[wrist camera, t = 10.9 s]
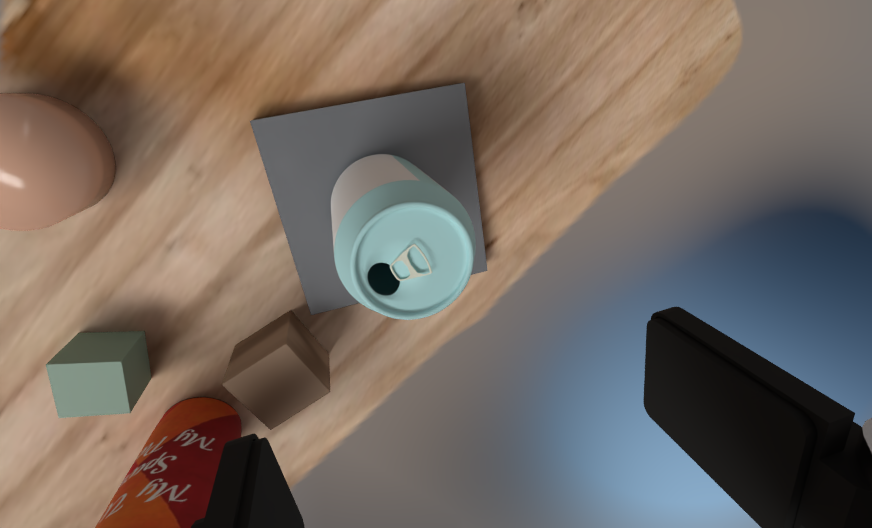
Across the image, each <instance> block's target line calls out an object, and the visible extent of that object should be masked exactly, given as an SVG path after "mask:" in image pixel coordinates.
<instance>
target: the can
mask: <svg viewBox="0 0 872 528" xmlns="http://www.w3.org/2000/svg"><path fill="white" fill-rule="evenodd" d="M331 217H332V232H333V246H334V259H335V265H336V269H337V272H338V275H339V278H340V280H341V281H342V283H343V285H344V286H345V288H346V289H347V291H348V292H349V293H350V294H351V295H352V296H353V297H354V298H355V299H356V300H357V301H358V302H360V303H361V304H362V305H364V306H366V307H367V308H369V309H371V310H373V311H376V312H378V313H380V314H382V315H385V316H388V317H391V318H395V319H403V320H411V319H420V318H424V317H428V316H430V315H433V314H435V313H437V312H439V311H441V310H443V309H444V308H446V307H447V306H449V305H450V304H451V303H452V302H453V301H454V300H455V299H456V298H457V297H458V296H459V295H460V294H461V292H462V291H463V290H464V288H465V286H466V285H467V283H468V281H469V278H470V276H471V273H472V269H473V263H474V257H475V249H476V240H475V232H474V228H473V225H472V221H471V219H470V217H469V215H468V213H467V211H466V210H465V208H464V207H463V205H462V204H461V203H460V202H459V201H458V200H457V199H456V198H455V197H454V196H453V195H452V194H450V193H449V192H448V191H447V190H445V189H444V188H443V187H442V186H440V185H439V184H438V183H436V182H435V181H434V180H433V179H431V178H430V177H429V176H427V175H426V174H425V173H424V172H422V171H421V170H420V169H418V168H417V167H416V166H415V165H413V164H412V163H411V162H409V161H407V160H405V159H403V158H401V157H398V156H394V155H388V154H376V155H370V156H367V157H364V158H361V159H359V160H357V161H356V162H354V163H353V164H351V165H350V166H349V167H347V168H346V169H345V170H344V171H343V173H342V174H341V175H340V177H339V178H338V180H337V182H336V184H335V186H334V189H333V192H332V196H331Z"/></svg>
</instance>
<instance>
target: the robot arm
mask: <svg viewBox="0 0 872 528" xmlns="http://www.w3.org/2000/svg"><path fill="white" fill-rule="evenodd" d="M644 382H645V384H644V407H645V409H646V412H647V413H648V415H649V416H650V417H651V418H652V419H653V420H654V421H655V422H656V423H657V424H658V425H659V426H660V427H661V428H662V429H663V430H664V431H665V432H666V433H667V434H668V435H669V436H670V437H671V438H672V439H673V440H674V441H675V442H676V443H677V444H678V445H679V446H680V447H681V448H682V449H683V450H684V451H685V452H686V453H687V454H688V455H689V456H690V457H691V458H692V459H693V460H694V461H695V462H696V463H697V464H698V465H699V466H700V467H701V468H702V469H703V470H704V471H705V472H706V473H707V474H708V475H709V476H710V477H711V478H712V479H713V480H714V481H715V482H716V483H717V484H718V485H719V486H720V487H721V488H722V489H723V490H724V491H725V492H726V493H727V494H728V495H729V496H730V497H731V498H732V499H733V500H734V501H735V502H736V503H737V504H738V505H739V506H740V507H741V508H742V509H743V510H744V511H745V512H746V513H747V514H748V515H749V516H750V517H751V518H752V519H753V520H754V521H755V522H756V523H757V524H758V525H759V526H760V527H761V528H872V418H871V419H869V420H867V421H865V423H864V425H863V427H861V426H859V425H858V424H856V423H854V422H853V418H854V415H855V413H854V412H852V411H851V410H849V409H847V408H846V407H844V406H842V405H840V404H839V403H837V402H836V401H834V400H832V399H831V398H829V397H827V396H826V395H824V394H822V393H821V392H819V391H817V390H816V389H814V388H813V387H811V386H809V385H808V384H806V383H804V382H803V381H801V380H799V379H798V378H796V377H794V376H793V375H791V374H789V373H788V372H786V371H784V370H783V369H781V368H779V367H778V366H776V365H774V364H773V363H771V362H769V361H768V360H766V359H765V358H763V357H761V356H760V355H758V354H756V353H755V352H753V351H751V350H750V349H748V348H746V347H745V346H743V345H741V344H740V343H738V342H736V341H735V340H733V339H732V338H730V337H728V336H727V335H725V334H723V333H722V332H720V331H718V330H717V329H715V328H713V327H712V326H710V325H708V324H707V323H705V322H703V321H702V320H700V319H699V318H697V317H695V316H694V315H692V314H690V313H688V312H687V311H685V310H684V309H682V308H680V307H672V308H669V309H666V310H662V311H659V312H656V313H654V314H653V315H652V316H651V320H650V321H648V323H647V334H646V359H645V381H644ZM191 528H304V523H303V519H302V516H301V514H300V512H299V510H298V507H297V505H296V503H295V500H294V498H293V496H292V494H291V491H290V489H289V487H288V485H287V482H286V480H285V478H284V475H283V473H282V471H281V469H280V466H279V464H278V462H277V460H276V457H275V455H274V453H273V451H272V448H271V446H270V444H269V442H268V440H267V439H266V438H261V439H259V438H258V437H257V435H256V434H251V435H247V436H244V437H241V438H237V439H234V440H231V441H227V442H226V443H225V445H224V448H223V451H222V455H221V459H220V462H219V466H218V470H217V474H216V477H215V481H214V485H213V488H212V492H211V496H210V500H209V503H208V507H207V511H206V515H205V517H204V518H201V519H199V520H196V521H195V522H194V523H193V525H192V526H191Z"/></svg>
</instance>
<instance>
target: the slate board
mask: <svg viewBox="0 0 872 528" xmlns="http://www.w3.org/2000/svg"><path fill="white" fill-rule="evenodd" d="M250 123H251V126H252V129H253V132H254V135H255V138H256V142H257V145H258V148H259V151H260V154H261V157H262V161H263V164H264V167H265V170H266V173H267V177H268V180H269V183H270V186H271V189H272V192H273V196H274V199H275V202H276V205H277V208H278V211H279V215H280V218H281V221H282V224H283V227H284V230H285V234H286V237H287V240H288V243H289V246H290V249H291V253H292V256H293V259H294V262H295V265H296V269H297V272H298V275H299V278H300V281H301V284H302V288H303V291H304V294H305V297H306V300H307V303H308V307H309V310H310V313H311V315H314V314H318V313H322V312H326V311H329V310H333V309H337V308H341V307H345V306H349V305H353V304H357V303H360V302H358V301H357V300H356V299H355V298H354V297H353V296H352V295H351V294H350V293H349V292H348V291H347V289H346V288H345V286H344V285H343V283H342V281H341V280H340V278H339V275H338V272H337V269H336V265H335V259H334V246H333V232H332V217H331V196H332V192H333V189H334V186H335V184H336V182H337V180H338V178H339V177H340V175H341V174H342V173H343V171H344V170H345V169H346V168H347V167H349V166H350V165H351V164H353V163H354V162H356V161H357V160H359V159H361V158H364V157H367V156H370V155H376V154H388V155H394V156H398V157H401V158H403V159H405V160H407V161H409V162H411V163H412V164H413V165H415V166H416V167H417V168H418V169H420V170H421V171H422V172H424V173H425V174H426V175H427V176H429V177H430V178H431V179H433V180H434V181H435V182H436V183H438V184H439V185H440V186H442V187H443V188H444V189H445V190H447V191H448V192H449V193H450V194H452V195H453V196H454V197H455V198H456V199H457V200H458V201H459V202H460V203H461V204H462V205H463V207H464V208H465V210H466V211H467V213H468V215H469V217H470V219H471V221H472V225H473V228H474V232H475V240H476V249H475V257H474V263H473V269H472V273H471V275H472V274H476V273H480V272H484V271H487V263H486V255H485V247H484V238H483V230H482V222H481V214H480V205H479V197H478V189H477V180H476V172H475V164H474V155H473V147H472V139H471V130H470V122H469V114H468V105H467V97H466V89H465V83H458V84H452V85H447V86H441V87H435V88H430V89H424V90H419V91H413V92H407V93H402V94H396V95H390V96H385V97H379V98H373V99H368V100H362V101H356V102H351V103H345V104H339V105H334V106H328V107H322V108H317V109H311V110H305V111H300V112H294V113H288V114H283V115H277V116H271V117H266V118H260V119H254V120H251V121H250Z"/></svg>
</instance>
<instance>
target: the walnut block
mask: <svg viewBox="0 0 872 528" xmlns="http://www.w3.org/2000/svg"><path fill="white" fill-rule="evenodd" d="M222 385H223V386H224V387H225V388H226V389H227V390H228V391H229V392H230V393H231V394H232V395H233V396H235V397H236V398H237V399H238V400H239V401H240V402H241V403H242V404H243V405H244V406H245V407H246V408H247V409H249V410H250V411H251V412H252V413H253V414H254V415H255V416H256V417H257V418H258V419H259V420H260V421H261V422H263V423H264V424H265V425H266V426H267V427H268V428H269V429H270V430H271V429H273V428H275V427H276V426H278V425H279V424H281V423H282V422H284V421H286V420H287V419H289V418H290V417H292V416H293V415H295V414H296V413H298V412H300V411H301V410H303V409H304V408H306V407H307V406H309V405H311V404H312V403H314V402H315V401H317V400H318V399H320V398H321V397H323V396H325V395H326V394H328V393H329V392H330V369H329V354H328V353H327V351H326V350H325V349H324V348H323V347H322V346H321V344H320V343H319V342H318V341H317V340H316V339H315V338H314V336H313V335H312V334H311V333H310V332H309V331H308V330H307V328H306V327H305V326H304V325H303V324H302V323H301V322H300V320H299V319H298V318H297V317H296V316H295V315H294V313H293V312H292V311H291V310H290V311H289V312H287V313H285V314H284V315H282V316H281V317H279V318H278V319H276V320H274V321H273V322H271V323H270V324H268V325H267V326H265V327H263V328H262V329H260V330H259V331H257V332H256V333H254V334H252V335H251V336H249V337H248V338H246V339H245V340H243V341H241V342H240V343H238V344H237V345H235V348H234V350H233V353H232V356H231V359H230V362H229V365H228V368H227V371H226V374H225V377H224V380H223V383H222Z"/></svg>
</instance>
